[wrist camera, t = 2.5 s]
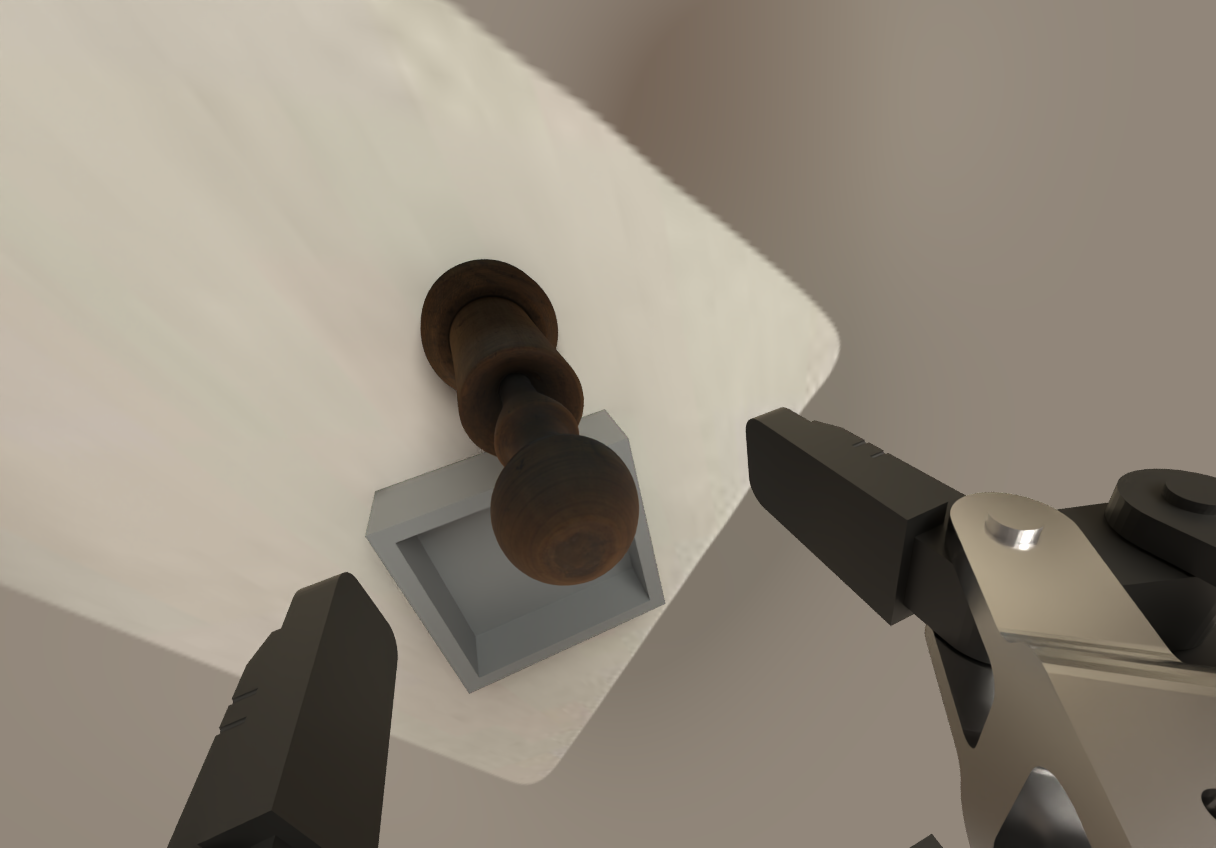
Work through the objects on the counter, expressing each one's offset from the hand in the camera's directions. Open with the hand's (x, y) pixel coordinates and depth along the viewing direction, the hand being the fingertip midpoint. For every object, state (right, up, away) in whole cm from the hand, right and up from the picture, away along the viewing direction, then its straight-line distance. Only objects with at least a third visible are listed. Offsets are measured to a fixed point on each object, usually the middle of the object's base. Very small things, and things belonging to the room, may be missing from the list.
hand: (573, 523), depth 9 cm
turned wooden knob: (-6, +7, +15) cm, 17 cm away
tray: (-5, -5, +21) cm, 22 cm away
